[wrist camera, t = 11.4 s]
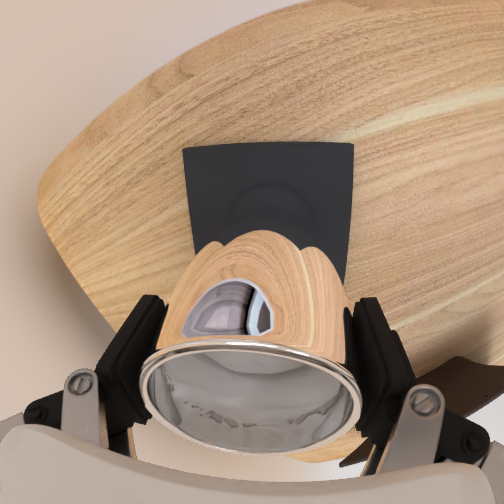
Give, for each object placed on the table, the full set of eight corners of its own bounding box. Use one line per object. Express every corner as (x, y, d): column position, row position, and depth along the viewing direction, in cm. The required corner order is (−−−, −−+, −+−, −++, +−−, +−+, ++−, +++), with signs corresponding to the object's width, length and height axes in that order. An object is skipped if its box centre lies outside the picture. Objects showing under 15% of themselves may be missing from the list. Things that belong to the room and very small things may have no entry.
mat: (184, 148, 19) (181, 148, 18) (351, 143, 17) (353, 143, 17) (203, 288, 24) (201, 292, 23) (341, 288, 22) (342, 292, 22)
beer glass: (204, 211, 20) (89, 373, 7) (284, 158, 18) (297, 277, 4) (257, 280, 22) (228, 464, 9) (334, 238, 20) (396, 426, 7)
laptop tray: (362, 406, 39) (374, 450, 33) (323, 407, 24) (341, 484, 18) (476, 348, 32) (491, 392, 26) (516, 305, 16) (546, 379, 10)
